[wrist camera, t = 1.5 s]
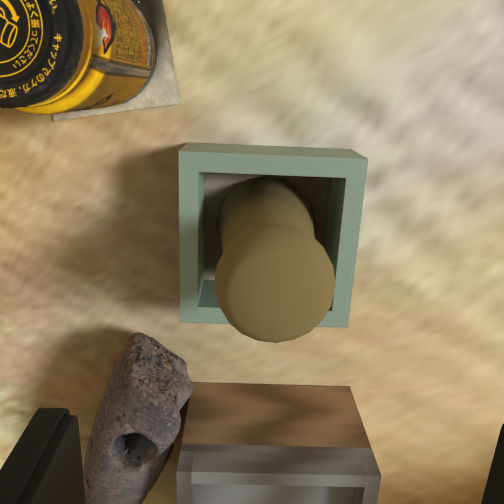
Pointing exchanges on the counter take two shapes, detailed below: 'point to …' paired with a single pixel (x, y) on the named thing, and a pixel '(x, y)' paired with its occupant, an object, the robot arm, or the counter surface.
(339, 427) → the gray open box
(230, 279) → the tan rounded piece
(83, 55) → the condiment
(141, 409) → the perforated stone tool
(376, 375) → the counter surface
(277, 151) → the shaker holder
